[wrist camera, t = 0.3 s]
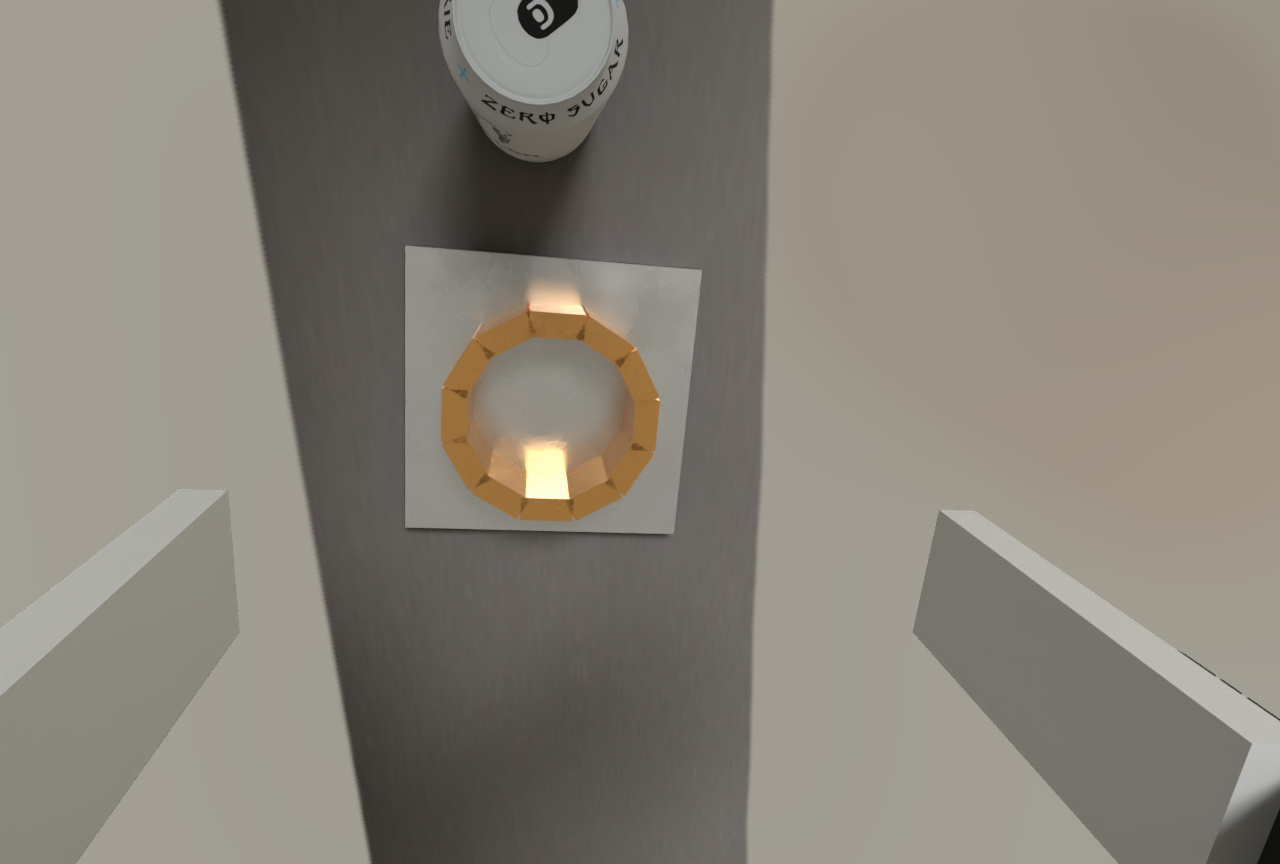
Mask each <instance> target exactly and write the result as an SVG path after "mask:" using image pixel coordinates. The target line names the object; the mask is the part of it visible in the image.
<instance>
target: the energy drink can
mask: <svg viewBox="0 0 1280 864" xmlns="http://www.w3.org/2000/svg"><path fill="white" fill-rule="evenodd" d="M438 24H439V38H440V43H441V47H442V52H443V56H444V58H445V61H446V63H447V66H448V68H449V71H450V73H451V75H452V77H453V79H454V81H455V82H456V84H457V86H458V87H459V89H460V91H461V93H462V94H463V96H464V98H465V99H466V101H467V103H468V105H469V106H470V108H471V110H472V112H473V113H474V115H475V117H476V118H477V120H478V122H479V124H480V125H481V127H482V128H483V130H484V132H485V133H486V135H487V136H488V137H489V138H490V139H491V140H492V142H493V143H494V144H495V145H496V146H498V147H499V148H500V149H502V150H503V151H504V152H506V153H507V154H509V155H511V156H513V157H516V158H518V159H521V160H525V161H529V162H547V161H553V160H556V159H559V158H561V157H564V156H566V155H567V154H569V153H570V152H572V151H573V150H575V149H576V148H577V147H578V146H579V145H580V144H581V143H582V142H583V141H584V139H585V138H586V136H587V135H588V133H589V132H590V130H591V129H592V127H593V125H594V123H595V122H596V120H597V118H598V117H599V115H600V113H601V112H602V110H603V108H604V106H605V105H606V103H607V101H608V100H609V98H610V96H611V94H612V93H613V91H614V89H615V88H616V86H617V84H618V81H619V79H620V76H621V74H622V71H623V69H624V65H625V61H626V56H627V51H628V31H629V28H628V21H627V14H626V8H625V5H624V2H623V0H440V5H439V12H438Z"/></svg>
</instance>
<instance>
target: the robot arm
mask: <svg viewBox="0 0 1280 864" xmlns="http://www.w3.org/2000/svg"><path fill="white" fill-rule="evenodd" d="M228 498H229V497H228V490H211V489H178V490H177V491H175V492H174V493H173V494H172V495H170V496H169V497H168V498H167V499H165V500H164V501H163V502H161V503H160V504H159V505H157V506H156V507H155V508H154V509H152V510H151V511H150V512H148V513H147V514H146V515H145V516H143V517H142V518H141V519H140V520H138V521H137V522H136V523H134V524H133V525H132V526H131V527H129V528H128V529H127V530H125V531H124V532H123V533H122V534H120V535H119V536H118V537H116V538H115V539H114V540H113V541H111V542H110V543H109V544H108V545H106V546H105V547H104V548H102V549H101V550H100V551H98V552H97V553H96V554H95V555H93V556H92V557H91V558H89V559H88V560H87V561H86V562H84V563H83V564H82V565H80V566H79V567H78V568H77V569H75V570H74V571H73V572H71V573H70V574H69V575H68V576H66V577H65V578H64V579H62V580H61V581H60V582H59V583H57V584H56V585H55V586H53V587H52V588H51V589H50V590H48V591H47V592H46V593H44V594H43V595H42V596H41V597H39V598H38V599H37V600H35V601H34V602H33V603H32V604H30V605H29V606H28V607H26V608H25V609H24V610H23V611H21V612H20V613H19V614H17V615H16V616H15V617H14V618H12V619H11V620H10V621H8V622H7V623H6V624H5V625H3V626H2V627H1V628H0V864H76V862H77V861H78V860H79V858H80V857H81V856H82V854H83V853H84V851H85V850H86V848H87V847H88V846H89V844H90V843H91V841H92V840H93V839H94V837H95V836H96V834H97V833H98V831H99V830H100V828H101V827H102V826H103V824H104V823H105V822H106V820H107V819H108V817H109V816H110V814H111V813H112V812H113V810H114V809H115V807H116V806H117V805H118V803H119V802H120V800H121V799H122V797H123V796H124V795H125V793H126V792H127V790H128V789H129V788H130V786H131V785H132V783H133V782H134V780H135V779H136V778H137V776H138V775H139V773H140V772H141V771H142V769H143V768H144V766H145V765H146V764H147V762H148V761H149V759H150V758H151V756H152V755H153V753H154V752H155V751H156V749H157V748H158V747H159V745H160V744H161V742H162V741H163V739H164V738H165V737H166V735H167V734H168V732H169V731H170V729H171V728H172V727H173V725H174V724H175V722H176V721H177V720H178V718H179V717H180V715H181V714H182V712H183V711H184V710H185V708H186V707H187V705H188V704H189V703H190V701H191V700H192V698H193V697H194V696H195V694H196V693H197V691H198V690H199V688H200V687H201V685H202V684H203V683H204V681H205V680H206V679H207V677H208V676H209V674H210V673H211V671H212V670H213V669H214V667H215V666H216V664H217V663H218V662H219V660H220V659H221V657H222V656H223V654H224V653H225V652H226V650H227V649H228V647H229V646H230V645H231V643H232V642H233V640H234V639H235V637H236V636H237V635H238V633H239V621H238V609H237V596H236V584H235V572H234V559H233V547H232V535H231V523H230V511H229V499H228ZM913 633H914V634H915V635H916V636H917V637H918V639H919V640H920V641H921V642H922V643H923V644H924V645H925V646H926V648H927V649H928V650H929V651H930V652H931V653H932V654H933V655H934V657H935V658H936V659H937V660H938V661H939V662H940V663H941V664H942V665H943V667H944V668H945V669H946V670H947V671H948V672H949V673H950V674H951V676H952V677H953V678H954V679H955V680H956V681H957V682H958V684H960V686H961V687H962V688H963V689H964V690H965V691H966V692H967V694H968V695H969V696H970V697H971V698H972V699H973V700H974V702H975V703H976V704H977V705H978V706H979V707H980V708H981V709H982V711H983V712H984V713H985V714H986V715H987V716H988V717H989V718H990V719H991V721H992V722H993V723H994V724H995V725H996V726H997V727H998V729H999V730H1000V731H1001V732H1002V733H1003V734H1004V735H1005V736H1006V738H1007V739H1008V740H1009V741H1010V742H1011V743H1012V744H1013V745H1014V746H1015V748H1016V749H1017V750H1018V751H1019V752H1020V753H1021V754H1022V756H1023V757H1024V758H1025V759H1026V760H1027V761H1028V762H1029V763H1030V765H1031V766H1032V767H1033V768H1034V769H1035V770H1036V771H1037V772H1038V773H1039V775H1040V776H1041V777H1042V778H1043V779H1044V780H1045V781H1046V783H1047V784H1048V785H1049V786H1050V787H1051V788H1052V789H1053V790H1054V791H1055V793H1056V794H1057V795H1058V796H1059V797H1060V798H1061V799H1062V800H1063V802H1064V803H1065V804H1066V805H1067V806H1068V807H1069V808H1070V810H1071V811H1072V812H1073V813H1074V814H1075V815H1076V816H1077V817H1078V818H1079V820H1080V821H1081V822H1082V823H1083V824H1084V825H1085V826H1086V827H1087V829H1088V830H1089V831H1090V832H1091V833H1092V834H1093V835H1094V837H1095V838H1096V839H1097V840H1098V841H1099V842H1100V843H1101V844H1102V846H1103V847H1104V848H1105V849H1106V850H1107V851H1108V852H1109V853H1110V855H1111V856H1112V857H1113V858H1114V859H1115V860H1116V861H1117V862H1118V863H1119V864H1280V719H1279V718H1277V717H1276V716H1274V715H1273V714H1271V713H1270V712H1269V711H1267V710H1266V709H1264V708H1263V707H1261V706H1260V705H1258V704H1257V703H1255V702H1254V701H1253V700H1251V699H1250V698H1246V697H1244V696H1243V695H1242V693H1241V692H1239V691H1238V690H1237V689H1235V688H1234V687H1232V686H1231V685H1229V684H1228V683H1226V682H1225V681H1223V680H1222V679H1218V678H1216V677H1215V674H1213V673H1212V672H1210V671H1209V670H1207V669H1206V668H1204V667H1203V666H1202V665H1200V664H1199V663H1197V662H1195V661H1194V660H1193V659H1191V658H1190V657H1188V656H1187V655H1186V654H1184V653H1182V652H1180V651H1178V650H1176V649H1174V648H1173V647H1172V646H1170V645H1169V644H1167V643H1166V642H1164V641H1163V640H1161V639H1160V638H1158V637H1157V636H1155V635H1154V634H1153V633H1151V632H1150V631H1148V630H1147V629H1145V628H1144V627H1142V626H1141V625H1140V624H1138V623H1136V622H1135V621H1134V620H1132V619H1131V618H1129V617H1128V616H1127V615H1125V614H1124V613H1122V612H1121V611H1119V610H1118V609H1116V608H1115V607H1113V606H1112V605H1111V604H1109V603H1108V602H1106V601H1105V600H1103V599H1102V598H1100V597H1099V596H1097V595H1096V594H1095V593H1093V592H1092V591H1090V590H1089V589H1087V588H1086V587H1084V586H1083V585H1081V584H1080V583H1079V582H1077V581H1076V580H1074V579H1073V578H1071V577H1070V576H1068V575H1067V574H1066V573H1064V572H1063V571H1061V570H1059V569H1058V568H1057V567H1055V566H1054V565H1052V564H1051V563H1050V562H1048V561H1047V560H1045V559H1043V558H1042V557H1041V556H1039V555H1038V554H1036V553H1035V552H1034V551H1032V550H1031V549H1029V548H1028V547H1026V546H1025V545H1023V544H1022V543H1020V542H1019V541H1018V540H1016V539H1015V538H1013V537H1012V536H1010V535H1009V534H1007V533H1006V532H1005V531H1003V530H1002V529H1000V528H999V527H997V526H996V525H994V524H993V523H991V522H990V521H989V520H987V519H986V518H984V517H983V516H981V515H980V514H978V513H977V512H975V511H960V510H939V514H938V518H937V522H936V527H935V532H934V537H933V541H932V546H931V550H930V555H929V559H928V564H927V569H926V573H925V578H924V582H923V587H922V592H921V596H920V601H919V605H918V610H917V615H916V620H915V624H914V629H913Z"/></svg>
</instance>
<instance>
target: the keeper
mask: <svg viewBox="0 0 1280 864" xmlns="http://www.w3.org/2000/svg"><path fill="white" fill-rule="evenodd" d="M701 275H702V270H700V269H694V268H682V267H670V266H658V265H646V264H634V263H622V262H610V261H598V260H586V259H574V258H562V257H550V256H537V255H525V254H513V253H501V252H489V251H477V250H465V249H453V248H441V247H429V246H417V245H406V246H405V527H409V528H449V529H489V530H529V531H569V532H609V533H649V534H674V527H675V517H676V508H677V499H678V489H679V480H680V471H681V461H682V452H683V443H684V433H685V424H686V415H687V405H688V396H689V387H690V377H691V368H692V359H693V349H694V340H695V331H696V321H697V312H698V303H699V293H700V284H701Z"/></svg>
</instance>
